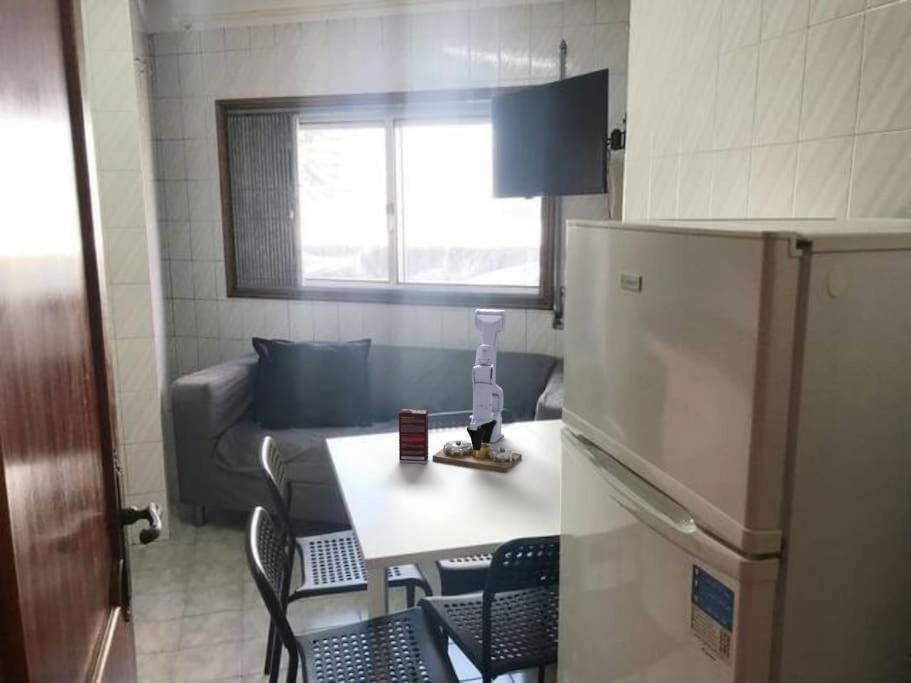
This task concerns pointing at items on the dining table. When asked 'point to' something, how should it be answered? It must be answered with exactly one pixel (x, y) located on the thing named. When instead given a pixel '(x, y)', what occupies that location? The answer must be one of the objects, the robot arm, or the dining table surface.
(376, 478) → the dining table surface
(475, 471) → the dining table surface
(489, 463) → the gear board
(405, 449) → the supplement box
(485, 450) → the brass gear
